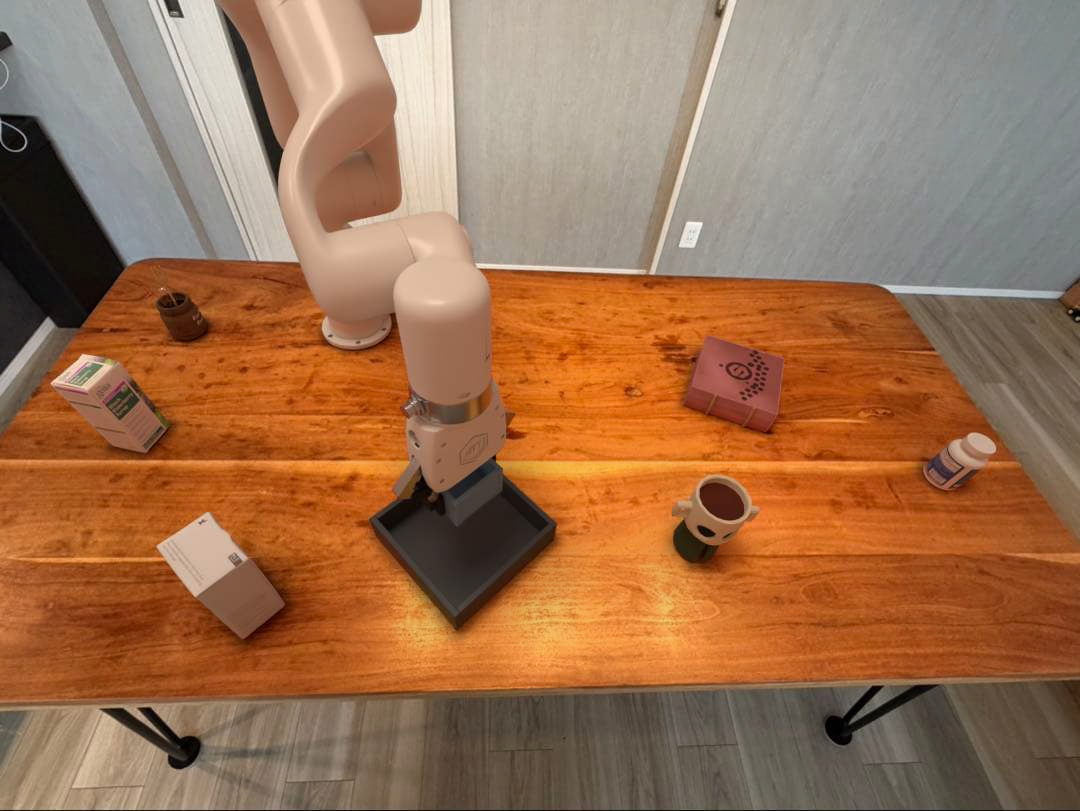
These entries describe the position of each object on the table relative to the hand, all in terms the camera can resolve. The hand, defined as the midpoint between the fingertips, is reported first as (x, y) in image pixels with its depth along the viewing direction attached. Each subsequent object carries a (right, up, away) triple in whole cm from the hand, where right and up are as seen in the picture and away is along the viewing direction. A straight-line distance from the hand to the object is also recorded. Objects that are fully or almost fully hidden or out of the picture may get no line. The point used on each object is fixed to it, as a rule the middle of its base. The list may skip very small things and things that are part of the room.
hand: (461, 486), depth 61 cm
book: (+44, +12, +33) cm, 56 cm away
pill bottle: (+75, -2, +23) cm, 79 cm away
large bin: (-1, -9, +11) cm, 14 cm away
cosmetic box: (-27, -15, +4) cm, 31 cm away
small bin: (0, 0, +1) cm, 1 cm away
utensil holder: (-55, +23, +33) cm, 68 cm away
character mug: (+31, -10, +13) cm, 35 cm away
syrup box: (-52, +5, +18) cm, 55 cm away
